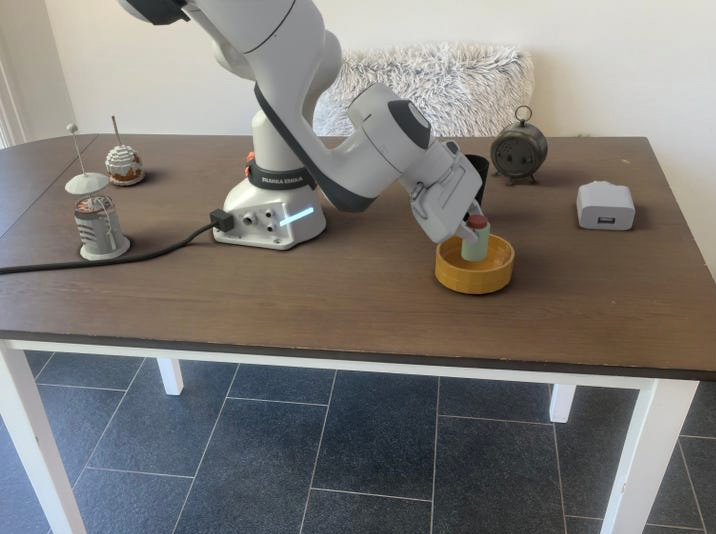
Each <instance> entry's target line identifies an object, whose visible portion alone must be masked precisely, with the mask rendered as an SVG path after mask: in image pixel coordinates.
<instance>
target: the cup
mask: <svg viewBox="0 0 716 534" xmlns="http://www.w3.org/2000/svg"><path fill="white" fill-rule="evenodd" d="M463 155H464V156H465V157H466V158H467V159H468V160H469V161H470V163H471V164H472V165H473V167H474V168H475V169H476V171H477V172H478V173H479V175H480V177H481V180H482V185H481V187H480V189H479V191H478V192H477V194H476V196H475V200H476V201H477V202H478V204H479V206H480V209H481V207H482V203H483V197H484V192H485V188H486V183H487V179H488V173H489V169H490V161H489V160H488V159H487V158H486V157H484V156H481V155H477V154H471V153H470V154H467V153H466V154H464V153H463ZM469 216H470V215H469V213H468V212H466V214H465V216H464V218H463V219H462V220H463V221H464V222H466V221H467V220H468V217H469Z"/></svg>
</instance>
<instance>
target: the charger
mask: <svg viewBox="0 0 716 534" xmlns="http://www.w3.org/2000/svg"><path fill="white" fill-rule="evenodd" d="M575 203H576V209H577V216H578V217H577V218H578V223H579V226H580V227H581V228H583V229H592V230H608V231H609V230H611V231H626V230H630V229H631V228H632V226H633V224H634V219H635V215H636V209H635V205H634V201H633V197H632V194H631V189H630V188H629V187H628V186H626V185H617V184H616V185H615V184H613V183H611V182H609V181H606V180H603V181H598V180H594V181H592V182H589V183H587V184H582V185H580V186H579V188H578V192H577V196H576V202H575Z"/></svg>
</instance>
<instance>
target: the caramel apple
mask: <svg viewBox="0 0 716 534" xmlns="http://www.w3.org/2000/svg"><path fill="white" fill-rule="evenodd" d="M110 116H111V121H112V126H113V129H114V133H115V137H116V142H117V146H114V147H113V149H110V150H109V152H108V153H107V155H106V160H105V161H104V163H105V166H106V170H107V173H108V175H110V176H109V177H108V178H109V182H110V183H111V184H114V185H117V186H130V185H134V184H135V185H136V184H137V183H139V182H141V181H142V180H143V179H144V177H145V176H146V173H145V172H144V170H143V167H142V166H144V165H143V160H142V157H141V155H140V154H138V151H137V150H134V148H133V147H131V146H130V145H128V146H126V145H125V144H122V142H121V139H120V135H119V131H118V126H117V122H116V117H115V114H112V115H110Z"/></svg>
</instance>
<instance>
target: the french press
mask: <svg viewBox="0 0 716 534" xmlns="http://www.w3.org/2000/svg"><path fill="white" fill-rule="evenodd" d="M78 128H79V127H78V126H77V125H76V124H75V123H69V124H67V125H66V132H67V133H70V134H71V133H72V136H73V140H74V144H75V148H76V150H77V151H76V152H77V154H78V158H79V161H80V166H81V169H82V172H83V173H81V174H78V175H74V177H72V178H71V179H70V180H69V181H68V182H67V183H66V184H65V187H64V190H65V191H66V192H67V193H68V194H69V195H73V196H79V197H80V196H82V198H80V199H78V200H77V201H75V203H74V204H73V209H74V214H73V215H74V220H75V222H76V225H78V226H77V229H78V231H80V232H79V235H80V237H81V242H82V243H83V244H82V247H80V252H79V253H80V255H81V257H82V258H83V259H86V260H87V261H91V260H101V259H110V258H119V257H120V256H122V255H123V254H125V253H126V252H127V251H128V250H129V249H130V246H131V243H130V242H131V241H130V240H129V239H128V238H127V237H125V236H124V234H123V231H122V228H121V224H120V219H119V215H118V212H117V209H116V205H115V203H113V198H111V196H109V195H107V194H99V193H100V192H102V191H104V190H105V189H106V187H107V186H108V185H109V183H110V179H109V177H108V176H107V175H106V174H102V173H99V172H86V171H85V167H84V164H83V160H82V156H81V153H80V150H79V147H78V143H77V139H76V136H75V133H76V132H77V131H78V130H79V129H78ZM97 193H98V194H97ZM83 196H84V197H83ZM110 210H113V211H111V212H108V211H110ZM101 212H105V213H101ZM105 218H107V219H105ZM107 224H108V225H107ZM108 229H109V230H108Z"/></svg>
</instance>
